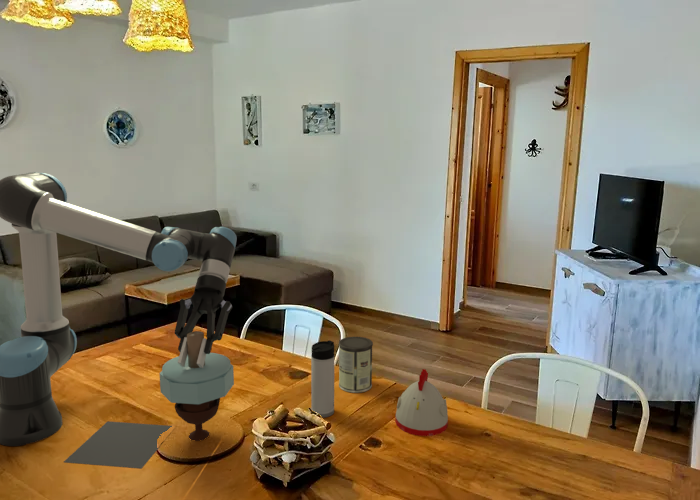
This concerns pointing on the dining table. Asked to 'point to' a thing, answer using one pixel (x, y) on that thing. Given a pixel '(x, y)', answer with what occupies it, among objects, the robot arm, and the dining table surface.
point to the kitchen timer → (422, 409)
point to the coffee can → (355, 364)
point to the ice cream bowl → (197, 416)
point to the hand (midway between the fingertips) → (190, 365)
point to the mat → (119, 445)
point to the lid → (196, 375)
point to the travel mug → (322, 378)
